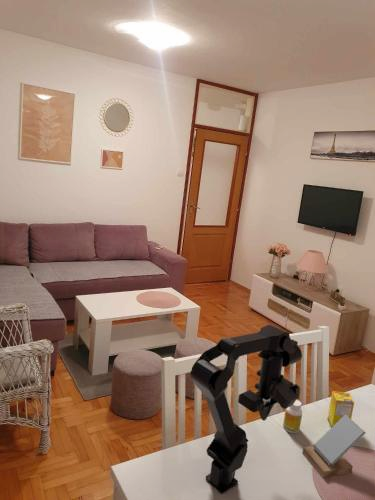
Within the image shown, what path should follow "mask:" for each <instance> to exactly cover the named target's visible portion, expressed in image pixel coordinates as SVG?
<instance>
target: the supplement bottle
mask: <svg viewBox="0 0 375 500" xmlns="http://www.w3.org/2000/svg"><path fill="white" fill-rule="evenodd" d="M284 410H285V412H284V416H283V417H284V418H283V423H282V426H283V429H284V430H285V431H287V432H289V433H291V434H296V433H299V432H300V428H301V423H302V417H303V409H302V402H301V401H300V400H299V399H297V400H296V401H295V402H294V404H293V405H292V406H290V407H288V408H287V409H284Z"/></svg>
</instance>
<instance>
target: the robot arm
mask: <svg viewBox="0 0 375 500" xmlns="http://www.w3.org/2000/svg"><path fill="white" fill-rule="evenodd" d="M298 343H299V342H298V341H297V340H295V339H291V335H290V332H288V331H286V330H284V329H282V328H280V327H278V326H275V325H273V324H268V325H265V326H263V327H261V328H260V329H259V331H258V332H255V333H249V334H244V335H239V336H233V337H223V338H221V339H220V340H219V341H218V343H217V344H216V345H215V346H212V347H211V348H209V349H207V350H205V351H203V352H202V354H201V355H200V356H199V358H198V359H197V360H196V361H195V362H194V364H192V367H191V370H190V374H189V375H190V378H191V380H192V382H193V383H194V385H195V386H196V387H197V388H198V389H199V390H200V391H201V393H202V394H203V395H204V397H205V400H206V403H207V406H208V409H209V411H210V414H211V417H212V421H213V423H214V425H215V428H216V432H215V433H214V436H213V437H214V438H213V440H212V441H211V443H210V444H209V445H208V446H207V448H206V456H208V457H210V458H211V459H212V461H211V465H210V473H209V474H207V475H206V476H205V479H206V481H208V483H209V484H210V485H211V486H213V487H214V488H215V489H216V490H217V491H218V492H219V493H220V494H224V493H225V492H228V491H229V490H230V489H232V488H234V487H235V486H236V485H238V483H239V480H238V479H236V478H235V475H236V471H237V470H240V469H241V468H242V467H243V465H244V464H243V463H244V462H245V458H246V455H247V452H248V446H249V445H248V442H249V439H248V438H247V433H246V430H244V429H243V428H242V427H240V426H239V425H238V424H237V423H235V422H234V418H233V416H232V415H233V414H232V413H231V410H230V406H229V403H228V400H227V397H226V393H225V391H226V390H227V388H228V384H229V381H230V380H231V379H232V377H233V375H234V372H235V367H236V362H237V361H238V359H239V358H240V357H242V356H248V355H251V354H255V353H258V354H257V357H259V358H261V364H260V369H258V370H257V371H256V375H257V376H259V377H258V382H257V383H254V388H255V389H256V390H257V391H255V392H254V391H253V390H250V389H248V390H247V391H244V392H242V393H240V394H238V399H237V403H238V404H240V405H241V406H243V407H244V408H246V409H247V410H249V411H250V412H251V413H257V412H258V414H259V416H260V419H261V420H262V421H267V419H268V416H269V415H270V413H271V411H272V409H273V407H274V406H275V404H277V403H278V404H279V406H280V408H282V409H283V410H286V409H287V408H288V407H290V406H292V405H293V404H294V402H295V401H296V400H299V399H300V393H301V391H300V390H301V388H300V386H299V385H298V384H297V383H295V384H294V383H293V382H292V381H291V380H289V379H287V378H285V375H283V374H282V371H283V369H282V368H287V367H290V366H292V365H294V364H296V363H298V362H300V361H301V360H302V359H303V354H302V350H301V348H300V346H298V345H299V344H298ZM222 355H225V356H227V360H226V364H225V366H224V368H223V369H222V368H220V367H219V366H217V365H216V364H214V363H212V362H211V361H213V360H215V359H217V358H219V357H222Z"/></svg>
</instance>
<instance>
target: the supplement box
mask: <svg viewBox="0 0 375 500" xmlns="http://www.w3.org/2000/svg"><path fill="white" fill-rule="evenodd" d="M354 405H355V401H354V400H353V398H352V396H351V394H350V392H349V393H348V392H344V391H343V392H342V391H335V390H332V392H331V397H330V401H329V409H328V414H327V420H328V423H329V426H330V429H331V428H332V427H333V426H334V425H335V424H336V423H337V422H338V421H339V420H340V419H341V418H342V417H343V416H344V415H345V414H346V415H347V416H348V417H349V418H350V419H351V420H352V415H353V411H354Z"/></svg>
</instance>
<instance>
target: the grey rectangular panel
mask: <svg viewBox="0 0 375 500" xmlns="http://www.w3.org/2000/svg"><path fill="white" fill-rule="evenodd" d="M365 435H366V431H365V430H364V429H363V428H362V427H360V426H359V425H358V424H357V423H356V422H355V421H354V420H352V418H351V419H350V418H349V417H348V416H347V415H346V414H345V415H344V416H343V417H342V418H341V419H340V420H339V421H338V422H337V423H336V424H335V425H334V426H333V427H332V428H331V427H330V429H329V430H328V431H326V433H324V434H323V435H322V436H321V437H320V438H319V439H318V440H317V441H316V442H315V443H314V444H313V445H312V446H313V447H314V448H315V449H316V451H317V452H318V453H319V454H320V455H321V456H322V457H323V458H324V460H325V461H326V462H327V463H328V464H329V465H330V466H331V467H332V466H333V465H334V464H335V463H336V462H337V461H338V460H339V459H340V458H341V457H342V456H343V457H344V455H345V454H346V453H347V452H348V451H349V450H350V449H351V448H352V447H353V446H354V445H355V444H357V442H359V440H360V439H361V438H363V436H365Z"/></svg>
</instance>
